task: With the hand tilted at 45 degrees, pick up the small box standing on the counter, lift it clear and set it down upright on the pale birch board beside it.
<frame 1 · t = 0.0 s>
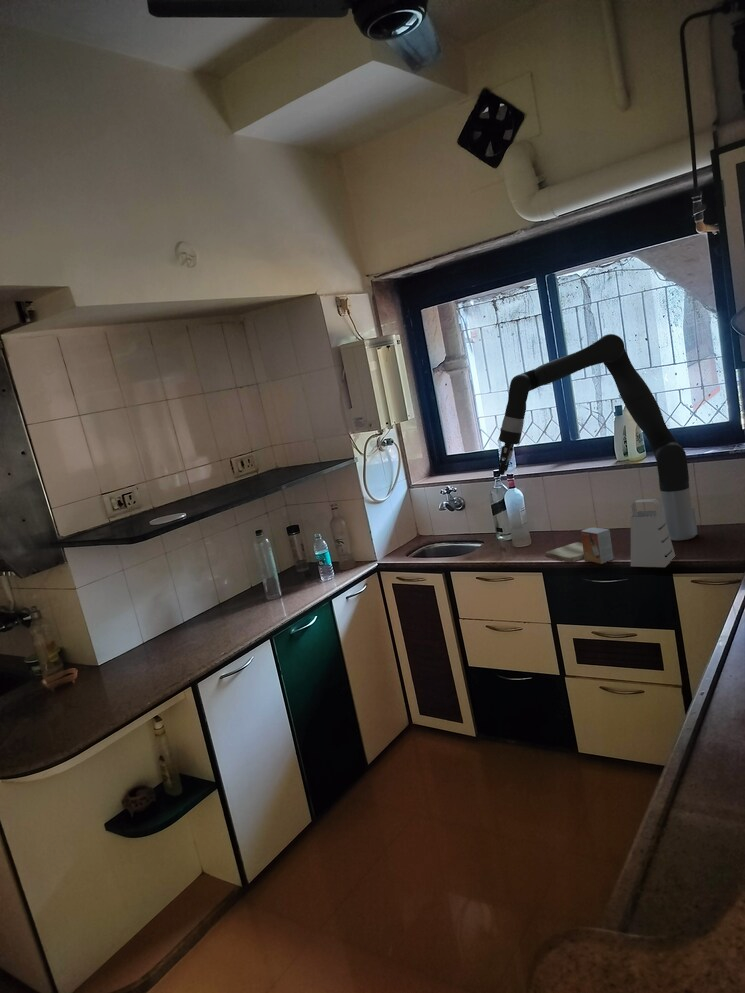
hand: (502, 472, 245), 31 cm above the worktop, tool tilted 20°, fingers open, 8 cm apart
small box: (599, 560, 223), on the worktop
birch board: (574, 553, 235), on the worktop
grater: (653, 562, 211), on the worktop
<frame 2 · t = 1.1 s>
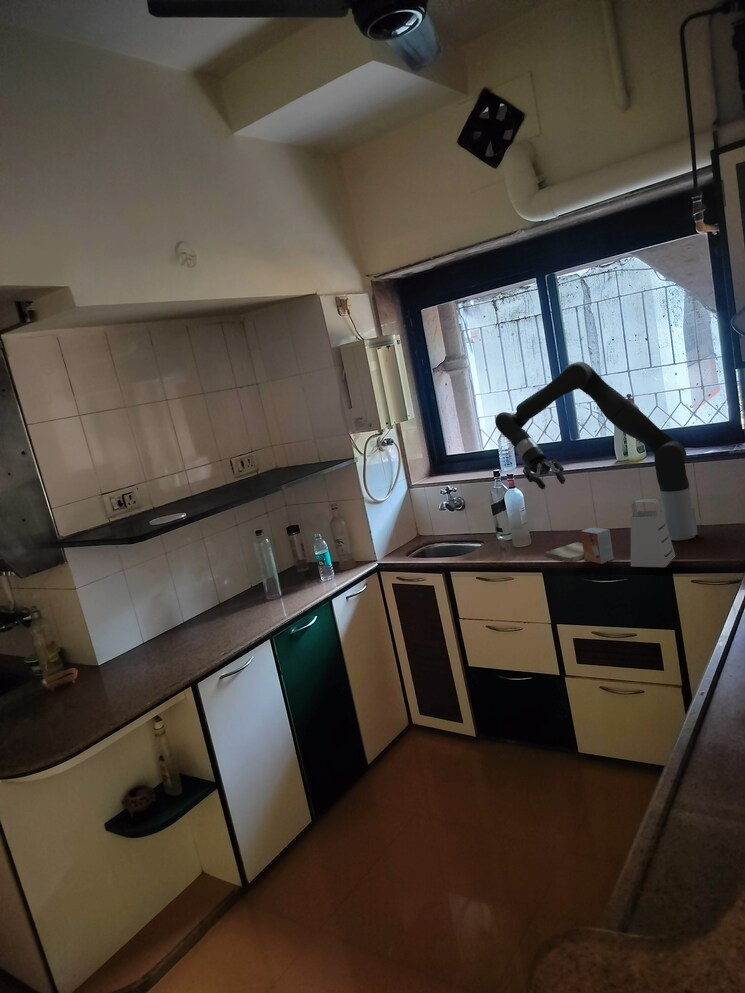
hand: (553, 485, 236), 25 cm above the worktop, tool tilted 45°, fingers open, 8 cm apart
nothing on the worktop moved.
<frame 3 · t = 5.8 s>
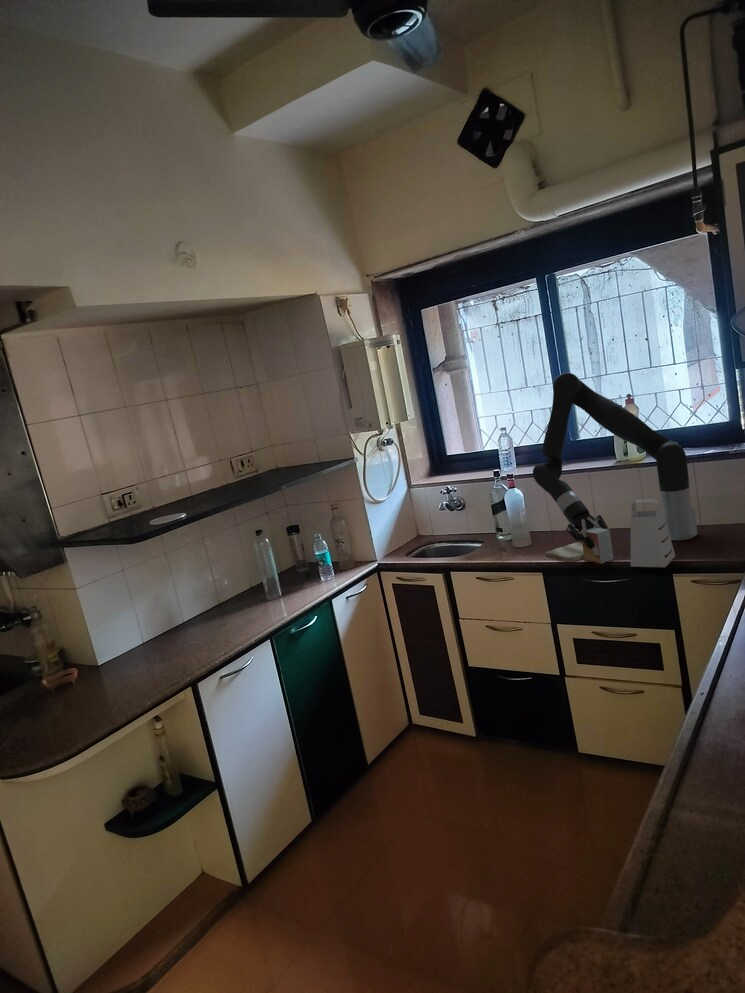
hand: (600, 544, 220), 6 cm above the worktop, tool tilted 45°, fingers closed on small box, 6 cm apart
small box: (599, 560, 223), on the worktop, touching gripper
everything else where it was.
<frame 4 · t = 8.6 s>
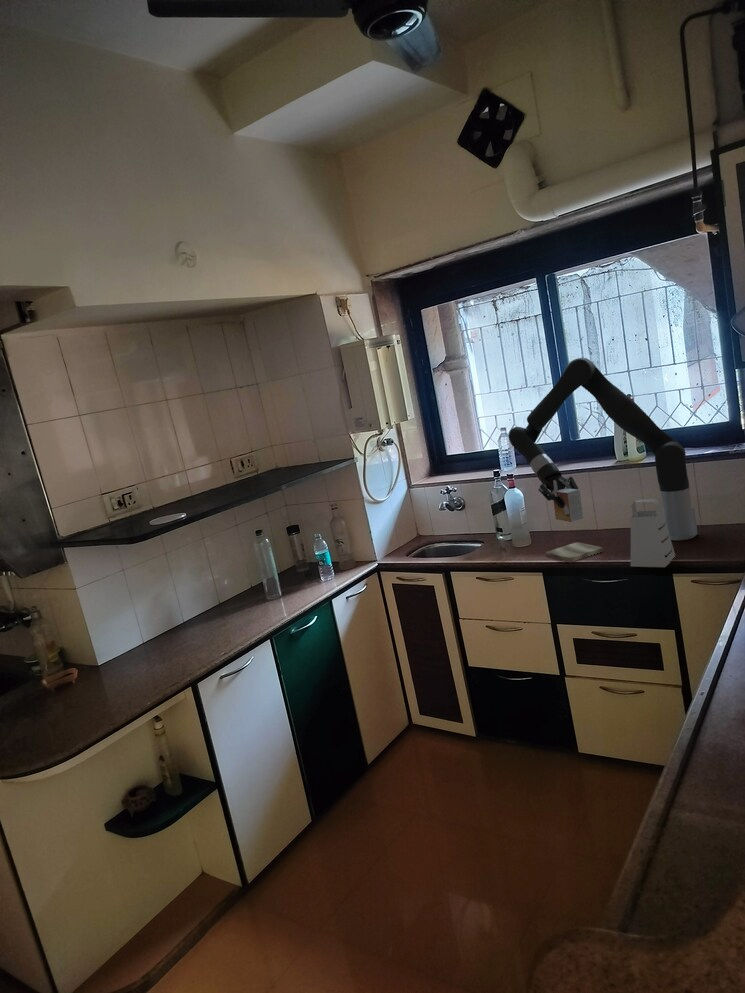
hand: (570, 504, 230), 18 cm above the worktop, tool tilted 45°, fingers closed on small box, 6 cm apart
small box: (569, 519, 232), point 13 cm above the worktop, touching gripper
everything else where it was.
when the fingers open (8 cm above the worktop, at t = 11.7 s): small box stays where it is, resting on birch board.
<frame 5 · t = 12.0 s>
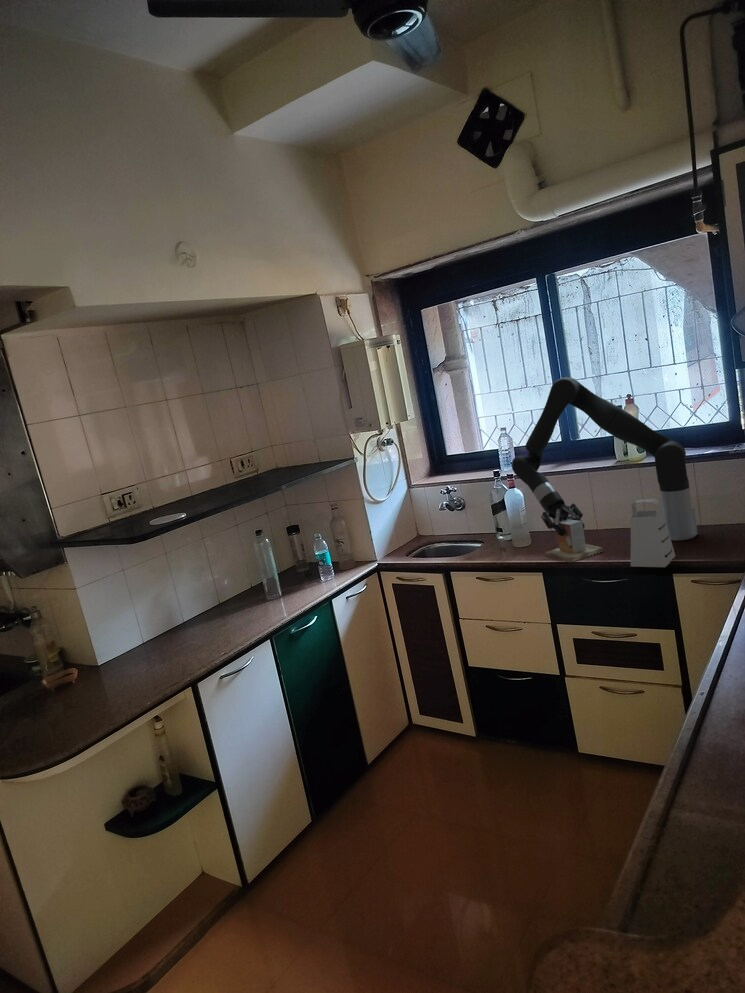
hand: (573, 531, 232), 8 cm above the worktop, tool tilted 45°, fingers open, 8 cm apart
small box: (573, 550, 235), point 1 cm above the worktop, touching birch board
everything else where it was.
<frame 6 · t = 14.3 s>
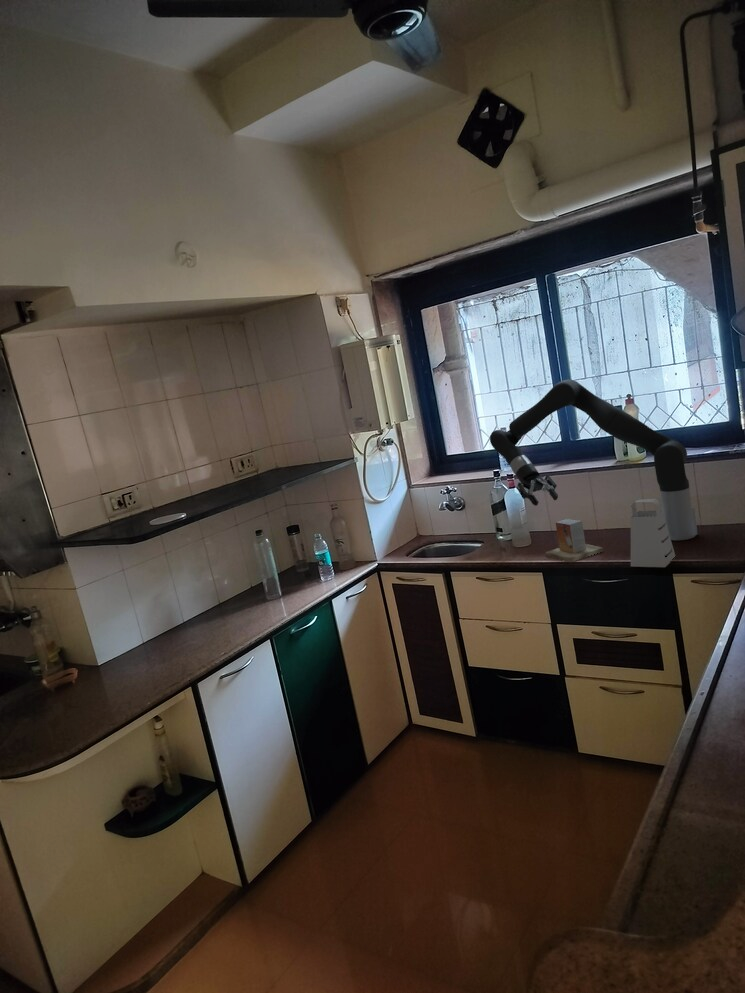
hand: (546, 501, 243), 18 cm above the worktop, tool tilted 45°, fingers open, 8 cm apart
nothing on the worktop moved.
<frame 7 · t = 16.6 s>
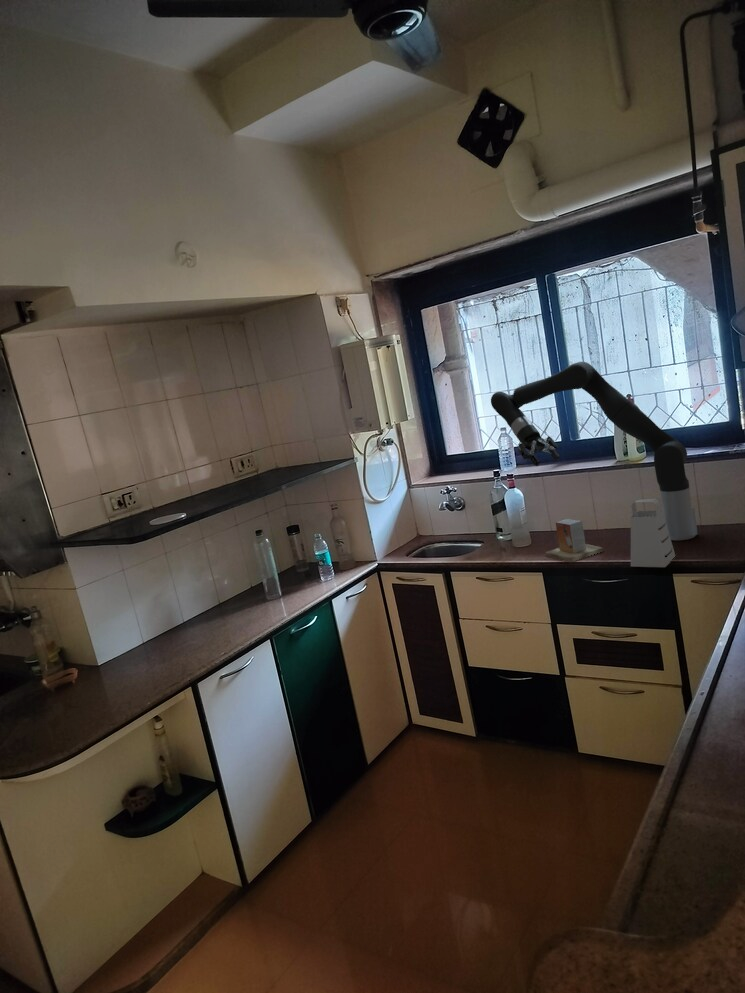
hand: (548, 462, 240), 33 cm above the worktop, tool tilted 45°, fingers open, 8 cm apart
nothing on the worktop moved.
at the end: small box inside the target area on the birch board (0.2 cm from its centre), point 1.3 cm above the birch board's base; small box tilted 0°; the gripper is holding nothing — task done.
